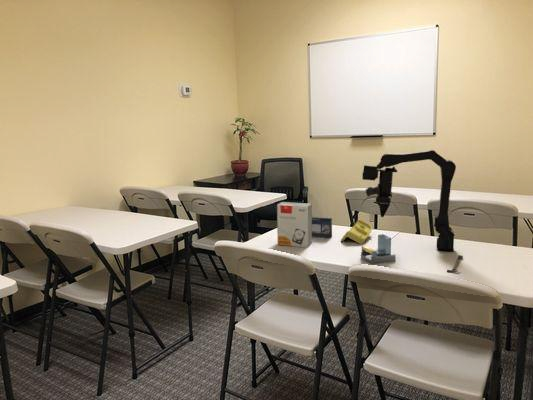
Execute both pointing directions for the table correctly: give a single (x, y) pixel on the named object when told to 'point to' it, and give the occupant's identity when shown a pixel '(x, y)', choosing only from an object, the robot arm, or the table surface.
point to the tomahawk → (456, 265)
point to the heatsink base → (375, 256)
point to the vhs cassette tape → (321, 227)
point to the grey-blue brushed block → (384, 245)
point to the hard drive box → (294, 224)
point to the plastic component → (358, 232)
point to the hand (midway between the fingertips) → (382, 214)
